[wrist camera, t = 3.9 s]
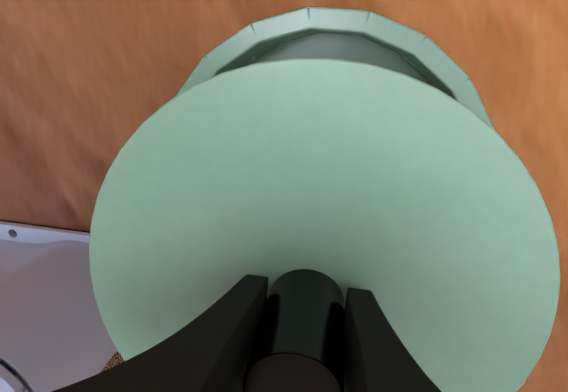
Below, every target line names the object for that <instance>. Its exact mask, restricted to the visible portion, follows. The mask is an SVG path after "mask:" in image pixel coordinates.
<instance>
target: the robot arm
mask: <svg viewBox="0 0 568 392" xmlns="http://www.w3.org/2000/svg"><path fill="white" fill-rule="evenodd" d="M14 230H15V231H16V233H17V234H16V233H15V232H14ZM89 239H90V233H86V232H78V231H71V230H63V229H56V228H48V227H41V226H33V225H26V224H18V223H11V222H3V221H0V392H243V386H242V383H243V377H244V373H245V370H246V367H247V364H248V360H249V357H250V354H251V351H252V347H253V344H254V341H255V338H256V334H257V331H258V328H259V325H260V321H261V318H262V315H263V312H264V308H265V305H266V302H267V291H268V277H265V276H257V275H249V274H247V275H245V276H244V277H243V278H242V279H241V280H239V281H238V282H237V283H236V284H235V285H234V286H233V287H232V288H231V289H230V290H229V291H228V292H226V293H225V294H224V295H223V296H222V297H221V298H220V299H219V300H217V301H216V302H215V303H214V304H213V305H211V306H210V307H209V308H208V309H207V310H205V311H204V312H203V313H202V314H201V315H199V316H198V317H197V318H195V319H194V320H192V321H191V322H190V323H188V324H187V325H186V326H184V327H183V328H182V329H180V330H179V331H177V332H176V333H175V334H173V335H172V336H170V337H168V338H167V339H165V340H163V341H162V342H160V343H158V344H157V345H155V346H153V347H152V348H150V349H148V350H146V351H144V352H142V353H140V354H138V355H136V356H134V357H132V358H130V359H128V360H127V361H125V362H123V363H121V364H119V365H117V366H115V367H112V368H110V369H108V370H106V371H103V372H101V371H102V369H103V368H104V367H105V365H106V364H107V363H108V361H109V360H110V359H111V357H112V356H113V355H114V353H115V352H119V351H118V350H117V348H116V347H115V345H114V343H113V342H112V340H111V338H110V335H109V333H108V331H107V329H106V327H105V325H104V323H103V321H102V318H101V315H100V312H99V309H98V306H97V302H96V299H95V296H94V291H93V286H92V280H91V275H90V262H89ZM344 341H345V353H344V392H441V391H440V389H439V388H438V387H437V386H436V385H435V384H434V383H433V382H432V381H431V379H430V378H429V377H428V376H427V375H426V374H425V372H424V371H423V370H422V369H421V367H420V366H419V365H418V363H417V362H416V361H415V360H414V358H413V357H412V356H411V354H410V353H409V352H408V350H407V349H406V347H405V346H404V345H403V343H402V342H401V340H400V339H399V337H398V336H397V334H396V332H395V331H394V329H393V328H392V326H391V325H390V323H389V322H388V320H387V318H386V316H385V315H384V313H383V311H382V309H381V308H380V306H379V304H378V302H377V300H376V298H375V296H374V294H373V293H372V292H371V291H370V290H365V289H357V288H349V287H348V289H347V296H346V304H345V311H344ZM100 372H101V373H100Z"/></svg>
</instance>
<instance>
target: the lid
mask: <svg viewBox="0 0 568 392" xmlns="http://www.w3.org/2000/svg"><path fill="white" fill-rule="evenodd" d="M89 262H90V275H91V280H92V286H93V291H94V296H95V299H96V302H97V306H98V309H99V312H100V315H101V318H102V321H103V323H104V325H105V327H106V329H107V331H108V333H109V335H110V338H111V340H112V342H113V343H114V345H115V347H116V348H117V350H118V351H119V353H120V355H121V356H122V358H123V360H124V361H127V360H128V359H130V358H132V357H134V356H136V355H138V354H140V353H142V352H144V351H146V350H148V349H150V348H152V347H153V346H155V345H157V344H158V343H160V342H162V341H163V340H165V339H167V338H168V337H170V336H172V335H173V334H175V333H176V332H177V331H179V330H180V329H182V328H183V327H184V326H186V325H187V324H188V323H190V322H191V321H192V320H194V319H195V318H197V317H198V316H199V315H201V314H202V313H203V312H204V311H205V310H207V309H208V308H209V307H210V306H211V305H213V304H214V303H215V302H216V301H217V300H219V299H220V298H221V297H222V296H223V295H224V294H225V293H226V292H228V291H229V290H230V289H231V288H232V287H233V286H234V285H235V284H236V283H237V282H238V281H239V280H241V279H242V278H243V277H244V276H245V275H247V274H249V275H257V276H265V277H268V291H267V302H266V305H265V308H264V312H263V315H262V318H261V321H260V325H259V328H258V331H257V334H256V338H255V341H254V344H253V347H252V351H251V354H250V357H249V360H248V364H247V367H246V370H245V373H244V377H243V383H242V386H243V392H344V353H345V341H344V311H345V304H346V296H347V289H348V287H349V288H357V289H365V290H370V291H371V292H372V293H373V294H374V296H375V298H376V300H377V302H378V304H379V306H380V308H381V309H382V311H383V313H384V315H385V316H386V318H387V320H388V322H389V323H390V325H391V326H392V328H393V329H394V331H395V332H396V334H397V336H398V337H399V339H400V340H401V342H402V343H403V345H404V346H405V347H406V349H407V350H408V352H409V353H410V354H411V356H412V357H413V358H414V360H415V361H416V362H417V363H418V365H419V366H420V367H421V369H422V370H423V371H424V372H425V374H426V375H427V376H428V377H429V378H430V379H431V381H432V382H433V383H434V384H435V385H436V386H437V387H438V388H439V389H440V391H441V392H517V391H518V389H519V388H520V387H521V386H522V385H523V384H524V382H525V381H526V379H527V378H528V376H529V375H530V373H531V372H532V370H533V368H534V367H535V365H536V364H537V362H538V361H539V359H540V357H541V354H542V352H543V350H544V348H545V345H546V343H547V341H548V338H549V336H550V334H551V330H552V326H553V323H554V319H555V315H556V311H557V307H558V298H559V287H560V265H559V251H558V244H557V240H556V236H555V232H554V227H553V223H552V219H551V216H550V214H549V211H548V209H547V206H546V204H545V202H544V199H543V197H542V195H541V192H540V190H539V188H538V186H537V184H536V183H535V181H534V179H533V178H532V176H531V175H530V173H529V171H528V170H527V168H526V167H525V165H524V164H523V162H522V160H521V159H520V158H519V156H518V155H517V154H516V153H515V152H514V151H513V150H512V148H511V147H510V146H509V145H508V144H507V143H506V141H505V140H504V139H503V138H502V137H501V136H500V135H499V133H498V132H497V131H495V130H494V129H493V128H492V127H491V126H490V125H488V124H487V123H486V122H485V121H484V120H483V119H481V118H480V117H479V116H478V115H477V114H475V113H474V112H473V111H472V110H471V109H469V108H468V107H466V106H465V105H463V104H461V103H460V102H458V101H457V100H455V99H453V98H452V97H450V96H449V95H447V94H445V93H444V92H442V91H441V90H439V89H437V88H435V87H433V86H431V85H429V84H426V83H424V82H422V81H420V80H417V79H415V78H413V77H410V76H408V75H406V74H404V73H401V72H398V71H394V70H391V69H387V68H384V67H380V66H377V65H373V64H370V63H366V62H359V61H352V60H344V59H337V58H314V57H294V58H287V59H280V60H272V61H265V62H259V63H255V64H251V65H248V66H244V67H241V68H237V69H234V70H230V71H227V72H223V73H221V74H219V75H216V76H214V77H212V78H210V79H207V80H205V81H203V82H201V83H198V84H196V85H194V86H192V87H190V88H189V89H187V90H186V91H184V92H182V93H181V94H179V95H178V96H176V97H175V98H173V99H171V100H170V101H168V102H167V103H165V104H164V105H163V106H162V107H161V108H159V109H158V110H157V111H156V112H155V113H154V114H153V115H151V116H150V117H149V118H148V119H147V120H146V121H144V122H143V123H142V124H141V125H140V127H139V128H138V129H137V130H136V131H135V132H134V134H133V135H132V136H131V137H130V138H129V140H128V141H127V142H126V143H125V144H124V145H123V147H122V149H121V150H120V152H119V153H118V155H117V157H116V158H115V160H114V162H113V163H112V165H111V167H110V168H109V170H108V172H107V174H106V177H105V179H104V182H103V184H102V186H101V189H100V191H99V194H98V196H97V200H96V204H95V208H94V212H93V216H92V220H91V229H90V239H89Z"/></svg>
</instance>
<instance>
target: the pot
mask: <svg viewBox="0 0 568 392" xmlns="http://www.w3.org/2000/svg"><path fill="white" fill-rule="evenodd" d="M294 57H314V58H337V59H344V60H352V61H359V62H366V63H370V64H373V65H377V66H380V67H384V68H387V69H391V70H394V71H398V72H401V73H404V74H406V75H408V76H410V77H413V78H415V79H417V80H420V81H422V82H424V83H426V84H429V85H431V86H433V87H435V88H437V89H439V90H441V91H442V92H444V93H445V94H447V95H449V96H450V97H452V98H453V99H455V100H457V101H458V102H460V103H461V104H463V105H465V106H466V107H468V108H469V109H471V110H472V111H473V112H474V113H475V114H477V115H478V116H479V117H480V118H481V119H483V120H484V121H485V122H486V123H487V124H488V125H490V126H491V127H492V128H493V129H494V126H493V124H492V122H491V120H490V117H489V115H488V113H487V111H486V109H485V107H484V105H483V103H482V101H481V99H480V97H479V94H478V92H477V90H476V88H475V86H474V84H473V82H472V80H471V79H470V78H469V75H468V74H467V73H466V72H465V71H464V70H463V69H462V68H460V67H459V66H458V65H457V64H456V63H455V62H454V61H453V60H452V59H451V58H450V57H449V56H448V55H447V54H446V53H445V52H444V51H443V50H442V49H441V48H440V47H439V46H438V45H437V44H435V43H434V42H433V41H432V40H431V39H430V38H429V37H428V36H425V34H423V33H421V32H419V31H416V30H414V29H412V28H409V27H407V26H405V25H403V24H400V23H398V22H396V21H393V20H391V19H389V18H387V17H384V16H382V15H380V14H377V13H375V12H373V11H370V12H369V11H368V10H360V9H345V8H330V7H315V6H310V7H309V8H308V7H303V8H300V9H296V10H293V11H289V12H286V13H282V14H278V15H275V16H271V17H268V18H264V19H261V20H257V21H254V22H252V24H251V23H250V24H248V25H246V26H245V27H243V28H242V29H241V30H239V31H238V32H236V33H235V34H233V35H232V36H231V37H229V38H228V39H226V40H225V41H224V42H222V43H221V44H219V45H218V46H217V47H215V48H214V49H212V50H211V51H209V52H208V53H207V54H206V55H205V56H204V57H203V58H202V59H201V60H200V62H199V63H198V65H197V66H196V68H195V69H194V70H193V72H192V73H191V75H190V76H189V77H188V79H187V80H186V82H185V83H184V84H183V86H182V87H181V89H180V90H179V92H178V93H177V94H176V96H178V95H179V94H181V93H182V92H184V91H186V90H187V89H189V88H190V87H192V86H194V85H196V84H198V83H201V82H203V81H205V80H207V79H210V78H212V77H214V76H216V75H219V74H221V73H223V72H227V71H230V70H234V69H237V68H241V67H244V66H248V65H251V64H255V63H259V62H265V61H272V60H280V59H287V58H294ZM176 96H175V97H176ZM175 97H174V98H175Z"/></svg>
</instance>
